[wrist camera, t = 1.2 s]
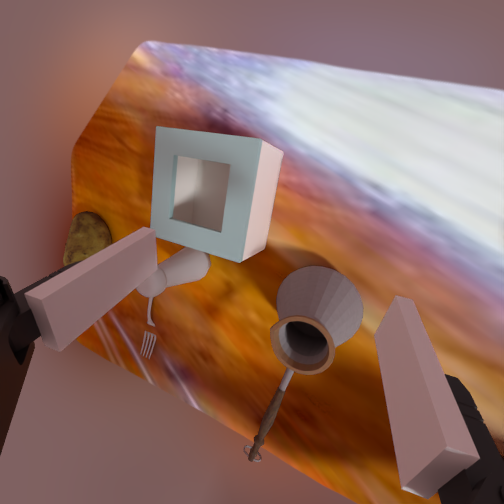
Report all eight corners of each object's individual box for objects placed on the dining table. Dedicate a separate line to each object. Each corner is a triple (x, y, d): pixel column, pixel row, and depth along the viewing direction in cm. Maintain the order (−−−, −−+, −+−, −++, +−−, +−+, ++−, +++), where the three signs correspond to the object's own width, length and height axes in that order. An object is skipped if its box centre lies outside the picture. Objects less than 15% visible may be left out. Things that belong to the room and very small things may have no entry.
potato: (120, 216, 49) (79, 219, 42) (120, 277, 53) (82, 290, 45) (90, 208, 52) (47, 210, 45) (92, 267, 56) (52, 278, 48)
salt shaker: (182, 249, 45) (119, 268, 33) (207, 238, 42) (148, 255, 31) (194, 280, 45) (136, 309, 33) (220, 271, 43) (166, 299, 31)
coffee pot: (297, 248, 37) (260, 278, 23) (378, 282, 33) (389, 340, 20) (253, 360, 44) (205, 433, 30) (317, 397, 40) (294, 499, 27)
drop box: (264, 248, 39) (239, 262, 31) (189, 227, 43) (149, 235, 35) (283, 152, 35) (259, 138, 27) (198, 140, 39) (156, 125, 31)
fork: (163, 246, 47) (156, 248, 45) (156, 355, 54) (150, 360, 52) (150, 242, 48) (143, 243, 46) (144, 350, 55) (138, 354, 53)
